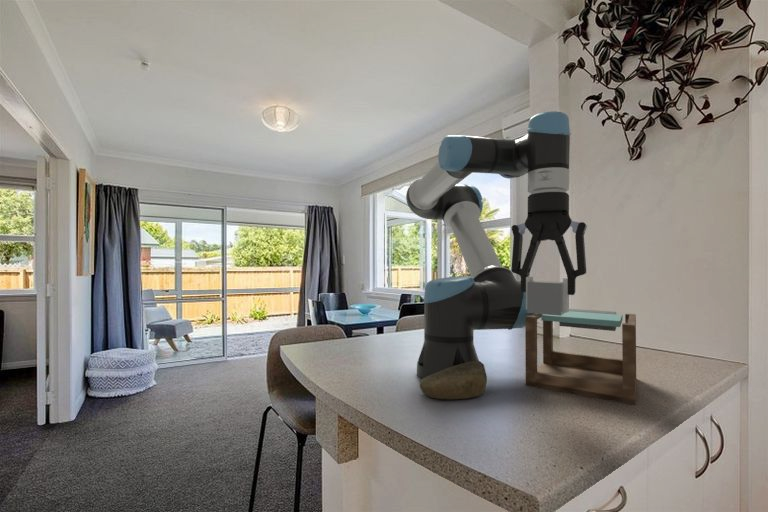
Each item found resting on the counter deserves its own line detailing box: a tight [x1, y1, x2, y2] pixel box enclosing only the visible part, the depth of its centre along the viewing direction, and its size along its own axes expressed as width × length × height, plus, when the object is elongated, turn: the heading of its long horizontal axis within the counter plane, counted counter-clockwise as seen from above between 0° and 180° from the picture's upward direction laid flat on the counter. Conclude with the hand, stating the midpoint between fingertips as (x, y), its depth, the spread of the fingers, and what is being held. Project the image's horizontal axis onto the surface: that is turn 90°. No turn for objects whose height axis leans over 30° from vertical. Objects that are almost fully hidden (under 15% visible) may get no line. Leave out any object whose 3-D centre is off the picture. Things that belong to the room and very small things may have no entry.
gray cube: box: [527, 280, 564, 316], centre depth 73 cm, size 6×6×6 cm
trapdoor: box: [540, 308, 623, 332], centre depth 87 cm, size 15×18×4 cm
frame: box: [524, 313, 637, 406], centre depth 84 cm, size 20×20×15 cm
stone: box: [419, 360, 488, 400], centre depth 76 cm, size 9×14×10 cm, turn 112°
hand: (547, 310), depth 74 cm, fingers closed on gray cube, 6 cm apart
